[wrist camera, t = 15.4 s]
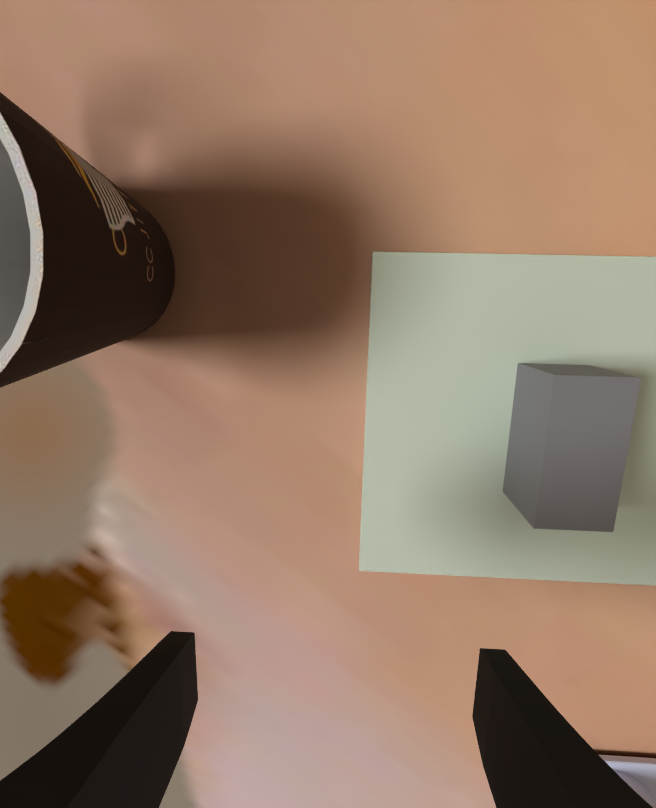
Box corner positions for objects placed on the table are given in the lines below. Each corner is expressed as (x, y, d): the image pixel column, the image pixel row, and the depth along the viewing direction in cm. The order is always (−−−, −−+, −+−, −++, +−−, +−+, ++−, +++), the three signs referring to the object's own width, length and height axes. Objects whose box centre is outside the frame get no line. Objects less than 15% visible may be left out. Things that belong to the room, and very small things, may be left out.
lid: (678, 574, 22) (761, 642, 17) (358, 559, 22) (360, 620, 18) (748, 261, 19) (871, 246, 14) (371, 254, 19) (378, 238, 15)
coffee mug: (213, 356, 20) (81, 401, 10) (34, 371, 20) (-254, 429, 11) (170, 67, 17) (-57, -239, 8) (-31, 94, 18) (-480, -158, 8)
